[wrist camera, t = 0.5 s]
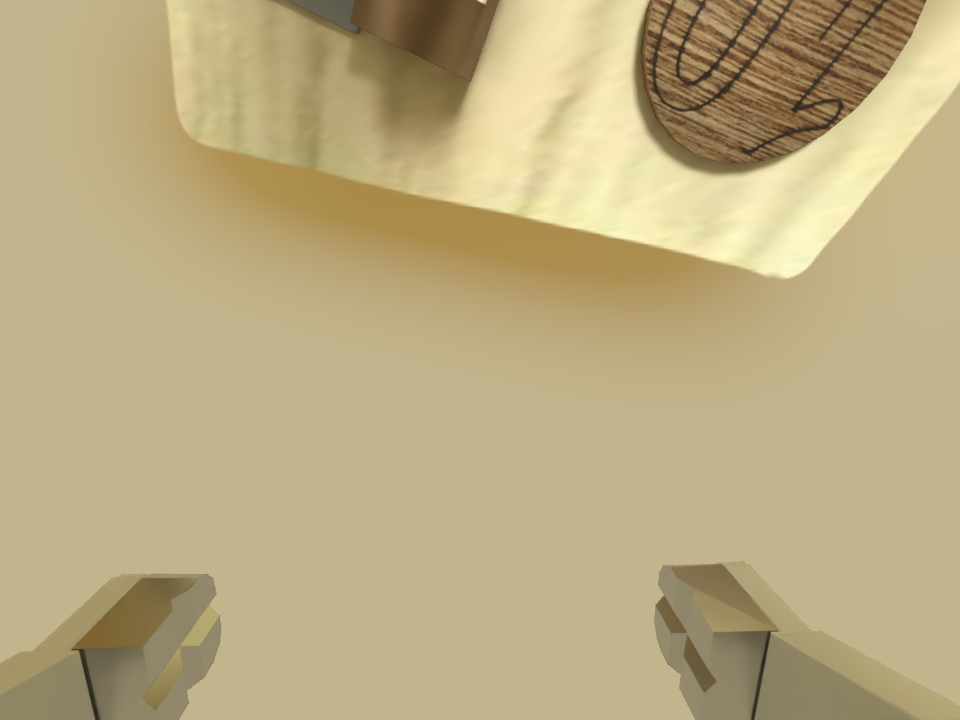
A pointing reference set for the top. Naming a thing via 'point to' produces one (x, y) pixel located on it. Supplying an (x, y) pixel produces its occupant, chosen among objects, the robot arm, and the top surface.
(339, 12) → the charcoal mat
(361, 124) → the top surface
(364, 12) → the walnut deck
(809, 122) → the trivet
